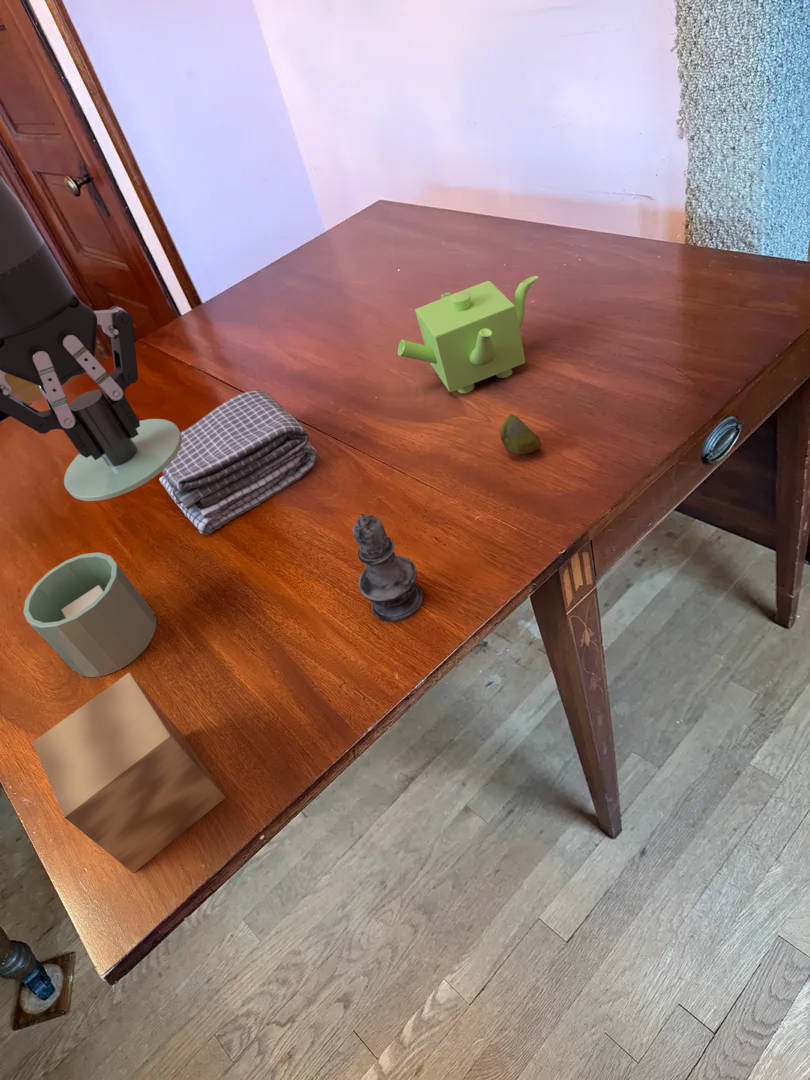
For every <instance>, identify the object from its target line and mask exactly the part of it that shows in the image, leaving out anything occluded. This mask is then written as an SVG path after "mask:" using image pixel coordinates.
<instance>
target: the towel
mask: <svg viewBox="0 0 810 1080" xmlns="http://www.w3.org/2000/svg"><path fill="white" fill-rule="evenodd" d="M180 432H181V435H182V443H181V447H180V449H179V451H178V453H177V455H176V456H175V458H174V459H173V460H172V461H171V463H170V464H169V465H168V466H167V467H166V468H165V469H164V470H163V471H161V473H162V474H163V475H162V476H161V477H159V482H160V484H161V485H162V487H164V489H165V490H166V492H167V493H168V495H169V496H170V497H171V499H172V500H173V501H174V503H175V504H176V505H177V507H178V508H179V509H180V510H181V512H182V513H183V514H184V516H185V517H186V518H187V519H188V520H189V521H190V522H191V524H193V525H194V527H195V528H196V529H197V530H198V532H199V533H200V535H203V536H207V535H212V534H213V532H214V531H217V530H219V529H221V527H222V526H223V525H225V524H227V523H229V522H230V521H233V520H235V519H236V518H238V517H239V516H241V515H243V514H245V513H246V512H248V511H250V510H252V509H253V508H255V507H257V506H259V505H260V504H261V503H264V502H266V501H267V500H268V499H269V498H272V497H274V496H275V495H276V494H278V493H281V492H282V491H283V490H285V489H286V488H288V487H289V486H290V485H292V484H294V483H296V482H297V481H299V480H300V479H302V478H303V477H304V475H306V473H308V472H309V471H310V470H311V469H313V468H314V467H315V465H316V462H317V460H318V452H317V450H316V449H315V448H314V447H313V446H312V444H311V443H310V435H309V433H308V430H306V427H304V425H302V423H301V422H300V421H299V420H298V419H297V418H296V417H295V416H293V415H292V414H291V413H289V412H288V411H287V410H285V409H284V408H283V406H282V405H280V403H279V402H278V401H277V400H275V398H273V397H272V396H271V395H270V394H269V393H267V392H266V391H264V390H260V389H253V390H248V391H246V392H241V393H238V394H236V395H234V396H233V397H231V398H230V399H227V400H226V401H224V402H223V403H221V404H219V405H218V406H216V407H215V408H214V409H212V410H211V411H209V412H208V413H206V414H205V415H204V416H203V417H202V418H200V419H199V420H197V421H196V423H193V424H192V425H190V426H189V427H187V428H185V429H184V430H182V431H180Z"/></svg>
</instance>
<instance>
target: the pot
mask: <svg viewBox="0 0 810 1080" xmlns="http://www.w3.org/2000/svg"><path fill="white" fill-rule="evenodd" d="M98 585H99V586H100V587H101V588H102V589H103V593H102V594H101V595H100V596H99V597H98V598H97V599H96V600H95V601H94V602H93V603H92V604H91V605H89V606H88V607H86V608H85V609H83V610H82V611H80V612H79V613H78V614H76V615H73V616H71V617H68V618H65V616H64V614H63V612H62V610H61V609H63V608H64V607H66V606H67V605H69V604H70V603H72V602H73V601H75V600H77V599H78V598H80V597H81V596H83V595H84V594H86V593H87V592H89V591H90V590H92V589H93V588H95V587H96V586H98ZM23 615H24V616H23V617H25V620H26V622H27V623H28V625H30V626H31V628H32V629H33V630H34V631H35V632H36V633H37V634H38V635H39V636H40V637H41V638H42V639H43V640H44V642H45V643H46V644H48V645H49V647H50V648H51V649H52V650H53V651H54V652H55V653H56V654H57V655H58V657H60V658H61V659H62V660H63V662H64V663H65V664H66V665H67V666H68V667H69V668H70V669H71V670H72V671H74V672H75V673H76V674H78V675H80V676H82V677H86V678H99V677H105V676H108V675H111V674H114V673H115V672H118V671H120V670H121V669H123V668H125V667H126V666H128V665H130V664H131V663H132V662H134V661H135V660H136V659H137V658H138V657H139V656H140V655H141V654H142V653H143V652H144V651H145V650H146V649H147V647H148V646H149V644H150V643H151V641H152V639H153V637H154V635H155V632H156V629H157V617H156V614H155V612H154V611H153V610H152V608H151V607H150V606H149V604H148V603H147V601H146V600H145V599H144V598H143V596H142V595H141V594H140V592H139V591H138V590H137V588H136V587H135V585H134V584H133V583H132V582H131V580H130V579H129V577H128V576H127V575H126V574H125V572H124V571H123V570H122V568H121V567H120V565H118V563H117V562H116V560H115V559H114V558H113V557H112V555H110V554H106V553H103V552H100V551H99V552H88V553H81V554H79V555H77V556H74V557H72V558H68V559H67V560H65V561H63V562H61V563H60V564H58V565H57V566H55V567H53V568H52V569H51V570H50V569H49V571H47V572H46V573H45V574H44V575H43V576H42V577H41V578H40V579H39V580H38V581H37V582H36V583H35V584H34V585H33V587H32V588H31V590H30V592H29V593H28V595H27V597H26V598H25V601H24V607H23Z"/></svg>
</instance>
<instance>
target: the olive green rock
mask: <svg viewBox="0 0 810 1080" xmlns="http://www.w3.org/2000/svg"><path fill="white" fill-rule="evenodd" d="M499 431H500V432H499V433H500V434H499V435H500V440H501V442H502V444H503V446H504V447H505V449H506V450H507V451H508V452H510V453H512V454H514V455H527V454H532V453H533V452H536V451H537V450H539V449H540V448H541V446H542V445H543V443H542V441H541V439H540V437H539V436H538V435H537V434H536V433H535V432H534V431H533V430H532V429H531V428H530V427H529V426H528V425H527V424H525V422H524V421H523V420H522V419H520V418H519V417H518V416H517V415H514V414H512V413H511V414H510V415H508V416H507V417H506V418H505V419H504V421H503V422H502V424H501V427H500V430H499Z"/></svg>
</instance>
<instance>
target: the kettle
mask: <svg viewBox="0 0 810 1080" xmlns="http://www.w3.org/2000/svg"><path fill="white" fill-rule="evenodd" d="M538 279H539V276H538V275H533V276H530V277H527V278H525V279H523V280H522V281H521V282H520V283H518V286H517V287H516V290H515V292H514V296H513V300H512V301H511V300H510V299H509V298H508V297H507V296H506V295H504V294H503V292H502V291H501V290H500V289H499V288H497V286H496V285H494V284H493V283H492V281H490V280H486V281H483V282H480V283H478V284H475V285H473V286H470V287H468V288H465V289H462V290H460V291H457V292H455V293H451V292H448V291H447V292H445V293H442V294H440V299H437V300H435V301H432V302H429V303H427V304H425V305H422V306H420V307H417V308H415V309H414V311H415V315H416V319H417V322H418V326H419V330H420V333H421V337H422V340H423V344H421V343H417V342H414V341H409V340H406V339H401V340H400V342H399V343H398V347H397V355H398V356H400V357H404V358H408V359H412V360H417V361H423V362H427V363H429V365H430V366H431V368H432V369H433V370H434V371H435V373H436V374H437V376H438V377H439V379H440V380H441V382H442V383H443V385H444V386H445V388H446V389H447V391H448V392H449V393H453V392H455V391H457V392H458V393H460V394H468V393H471V391H473V390H474V388H475V383H478V382H480V381H484V380H486V379H488V378H491V377H494V376H496V378H499V379H504V378H509V377H510V376H511V375H512V374H513V372H514V371H513V369H514V368H517V367H519V366H521V365H524V364H526V358H525V352H524V346H523V341H522V334H521V327H522V325H523V323H524V319H525V313H526V299H527V294H528V292H529V289H530V288H531V286H532V285H533V284H534V283H535V282H536V281H537V280H538Z"/></svg>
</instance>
